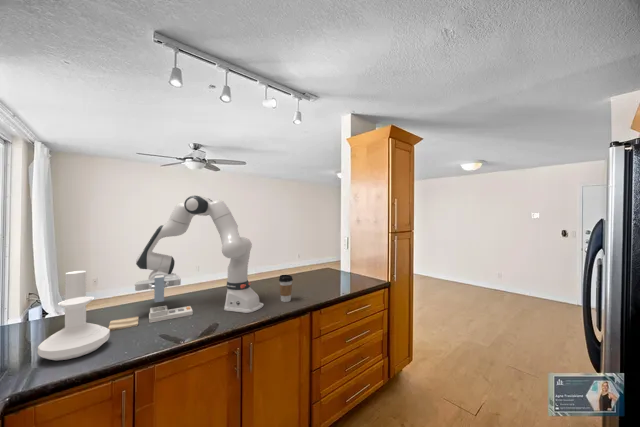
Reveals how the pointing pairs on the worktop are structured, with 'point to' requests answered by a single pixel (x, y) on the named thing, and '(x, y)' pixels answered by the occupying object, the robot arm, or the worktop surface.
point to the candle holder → (74, 333)
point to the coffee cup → (285, 287)
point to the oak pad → (123, 323)
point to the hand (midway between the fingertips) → (159, 286)
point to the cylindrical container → (74, 286)
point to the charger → (159, 288)
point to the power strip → (168, 313)
